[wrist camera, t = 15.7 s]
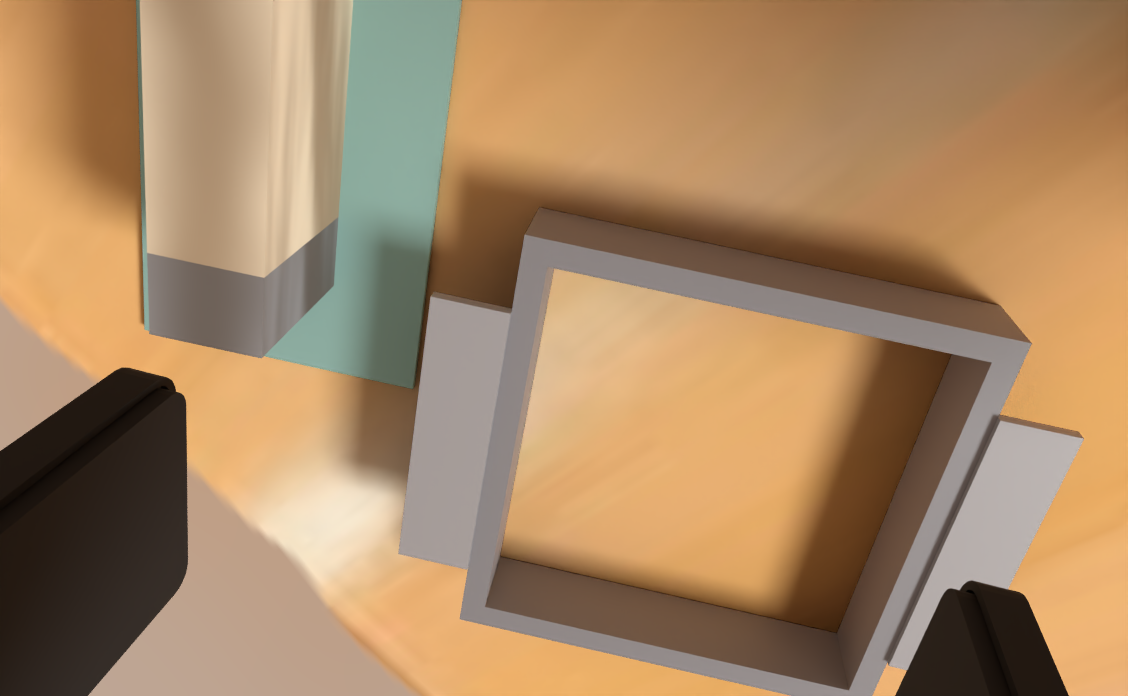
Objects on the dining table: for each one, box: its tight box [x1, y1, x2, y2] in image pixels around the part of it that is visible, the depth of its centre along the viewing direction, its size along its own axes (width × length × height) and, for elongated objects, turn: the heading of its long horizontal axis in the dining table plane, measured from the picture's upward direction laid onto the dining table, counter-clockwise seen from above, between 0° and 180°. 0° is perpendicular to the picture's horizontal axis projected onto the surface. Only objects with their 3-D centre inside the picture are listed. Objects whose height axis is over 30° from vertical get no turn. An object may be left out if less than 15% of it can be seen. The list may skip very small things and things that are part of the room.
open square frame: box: [398, 207, 1084, 696], centre depth 37 cm, size 24×18×4 cm
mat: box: [136, 0, 462, 389], centre depth 35 cm, size 12×20×1 cm, turn 169°
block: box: [140, 0, 353, 358], centre depth 32 cm, size 4×12×7 cm, turn 170°
